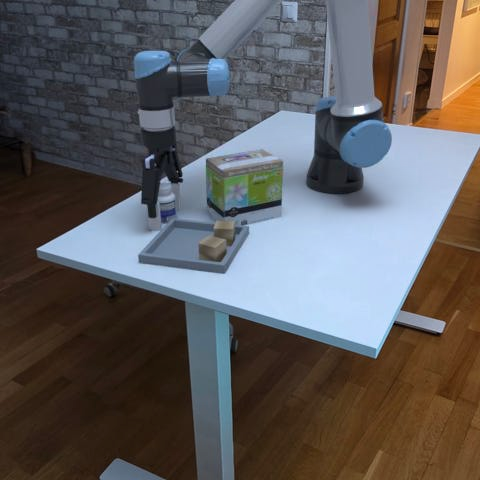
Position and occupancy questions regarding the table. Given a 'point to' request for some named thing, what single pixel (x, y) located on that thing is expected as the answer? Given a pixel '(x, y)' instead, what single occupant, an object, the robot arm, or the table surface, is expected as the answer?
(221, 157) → the tea box
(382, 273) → the table surface
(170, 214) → the pill bottle
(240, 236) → the tray
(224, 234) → the oak cube
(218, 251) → the oak cube
